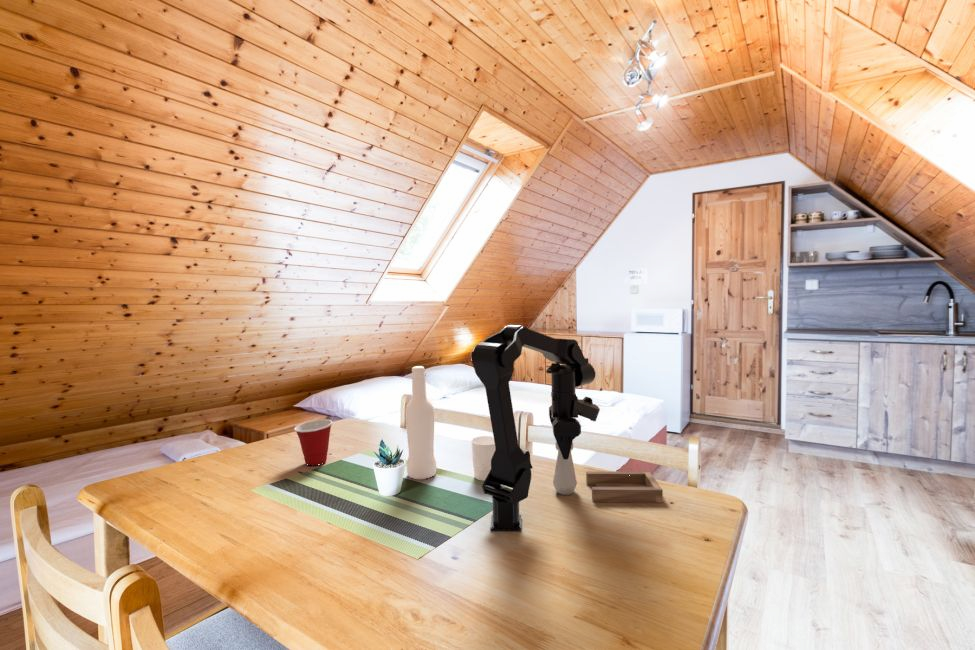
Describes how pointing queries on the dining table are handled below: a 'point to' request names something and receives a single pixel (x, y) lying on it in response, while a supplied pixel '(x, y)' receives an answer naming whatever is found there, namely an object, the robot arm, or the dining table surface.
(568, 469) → the salt shaker
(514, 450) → the robot arm
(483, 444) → the white cup
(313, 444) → the plastic cup
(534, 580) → the dining table surface
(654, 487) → the rest
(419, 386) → the bottle
